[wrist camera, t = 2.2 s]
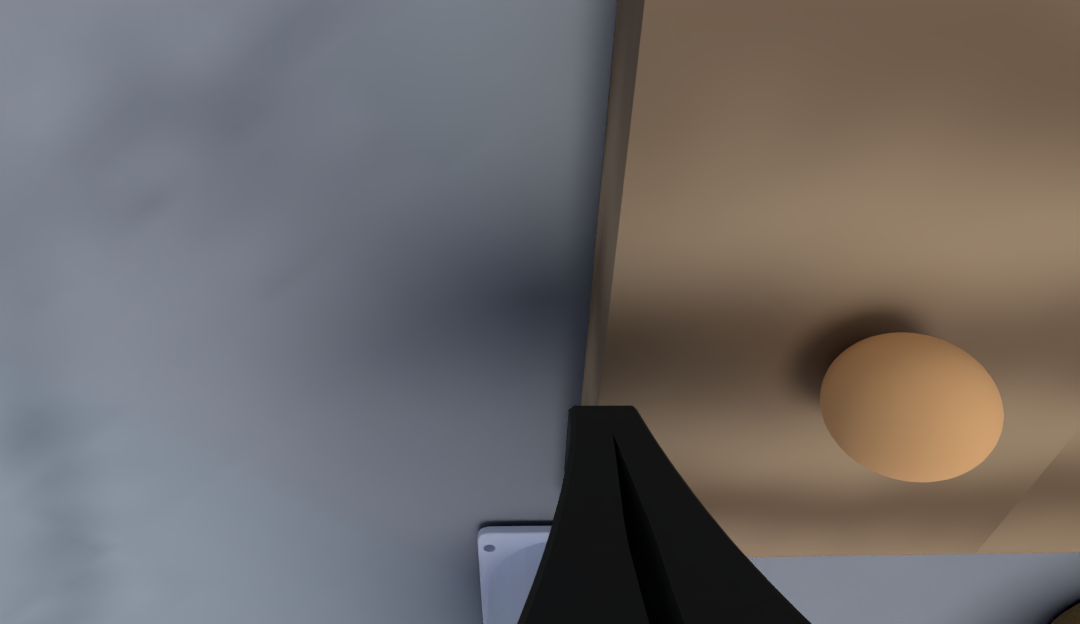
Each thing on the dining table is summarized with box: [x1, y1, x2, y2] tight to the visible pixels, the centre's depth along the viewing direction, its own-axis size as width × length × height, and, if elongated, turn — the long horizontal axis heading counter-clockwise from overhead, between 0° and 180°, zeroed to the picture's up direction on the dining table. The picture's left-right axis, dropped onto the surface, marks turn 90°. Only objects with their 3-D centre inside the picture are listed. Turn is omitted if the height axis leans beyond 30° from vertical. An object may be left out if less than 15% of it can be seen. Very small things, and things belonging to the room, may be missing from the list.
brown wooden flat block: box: [581, 0, 1080, 557], centre depth 15 cm, size 18×22×3 cm
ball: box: [820, 332, 1004, 482], centre depth 12 cm, size 4×4×4 cm
